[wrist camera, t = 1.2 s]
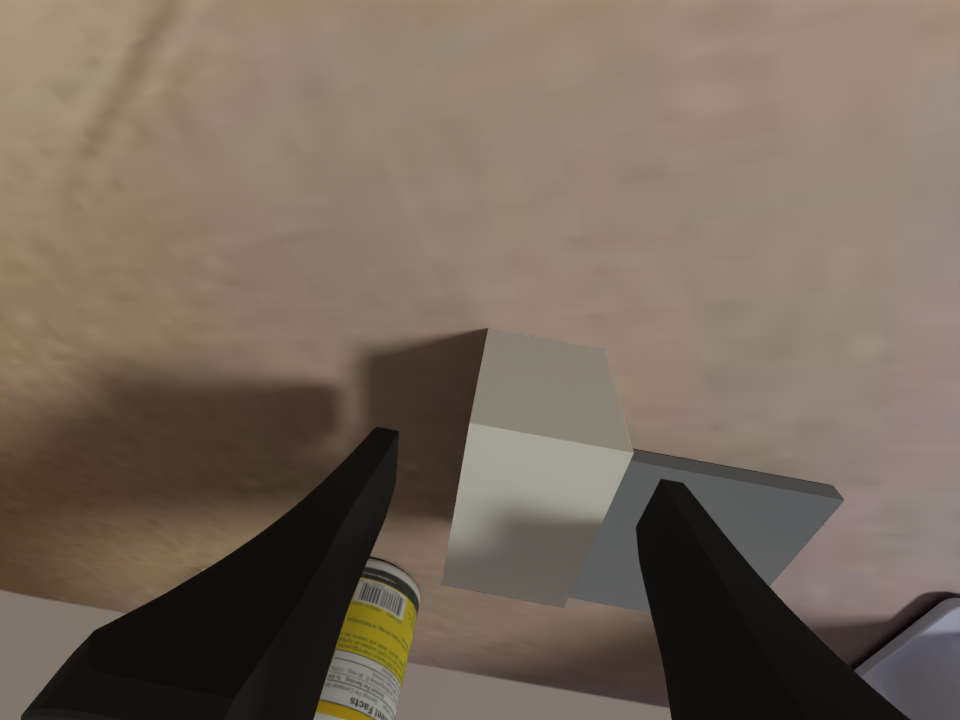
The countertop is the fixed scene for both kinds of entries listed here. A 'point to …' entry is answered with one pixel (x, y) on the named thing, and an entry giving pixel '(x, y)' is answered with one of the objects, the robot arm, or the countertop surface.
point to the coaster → (731, 504)
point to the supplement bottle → (372, 647)
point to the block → (536, 468)
